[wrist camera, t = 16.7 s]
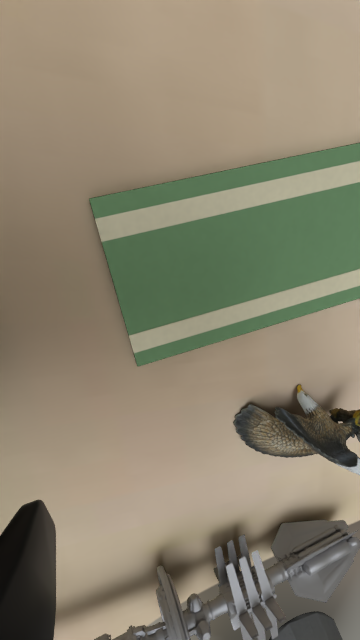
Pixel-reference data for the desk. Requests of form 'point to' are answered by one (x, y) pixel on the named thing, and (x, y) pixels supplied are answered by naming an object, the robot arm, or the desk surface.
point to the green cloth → (233, 249)
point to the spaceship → (256, 583)
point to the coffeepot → (309, 628)
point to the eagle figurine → (302, 432)
